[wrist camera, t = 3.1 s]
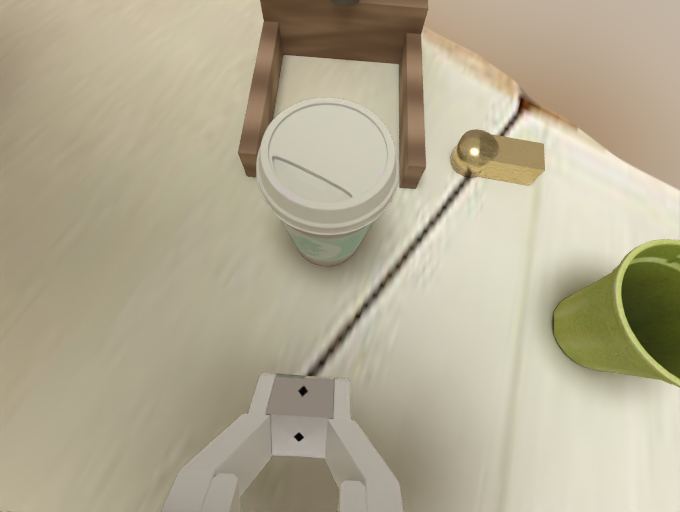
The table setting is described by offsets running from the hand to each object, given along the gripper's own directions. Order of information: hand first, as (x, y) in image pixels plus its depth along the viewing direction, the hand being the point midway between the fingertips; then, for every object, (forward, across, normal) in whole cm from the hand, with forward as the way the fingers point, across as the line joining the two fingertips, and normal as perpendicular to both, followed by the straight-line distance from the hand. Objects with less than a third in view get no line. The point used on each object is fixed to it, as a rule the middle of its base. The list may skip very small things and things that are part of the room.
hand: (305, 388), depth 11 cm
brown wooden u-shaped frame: (+29, 0, -8) cm, 31 cm away
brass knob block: (+25, -16, -4) cm, 30 cm away
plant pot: (+14, -22, +7) cm, 27 cm away
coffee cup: (+19, 0, +2) cm, 19 cm away
